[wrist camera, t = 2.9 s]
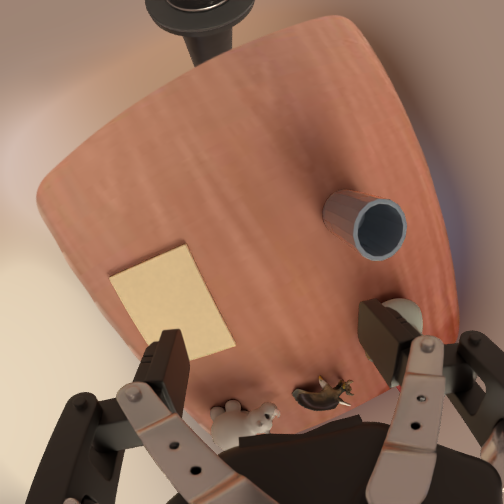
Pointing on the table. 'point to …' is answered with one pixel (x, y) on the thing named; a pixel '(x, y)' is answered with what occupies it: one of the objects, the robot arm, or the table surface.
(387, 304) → the air freshener
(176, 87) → the table surface
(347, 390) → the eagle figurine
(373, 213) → the cup
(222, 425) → the chubby cartoon animal
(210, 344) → the mat
